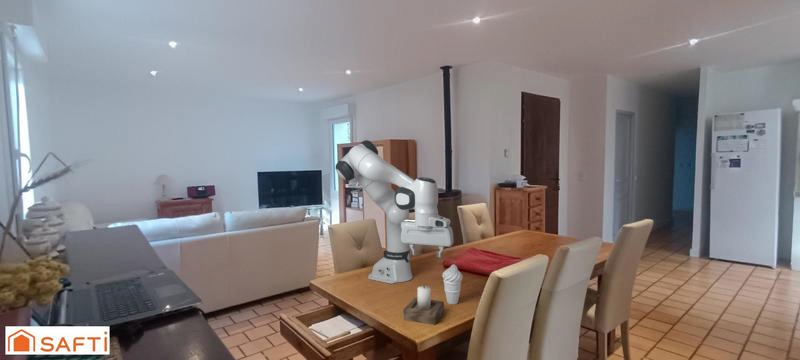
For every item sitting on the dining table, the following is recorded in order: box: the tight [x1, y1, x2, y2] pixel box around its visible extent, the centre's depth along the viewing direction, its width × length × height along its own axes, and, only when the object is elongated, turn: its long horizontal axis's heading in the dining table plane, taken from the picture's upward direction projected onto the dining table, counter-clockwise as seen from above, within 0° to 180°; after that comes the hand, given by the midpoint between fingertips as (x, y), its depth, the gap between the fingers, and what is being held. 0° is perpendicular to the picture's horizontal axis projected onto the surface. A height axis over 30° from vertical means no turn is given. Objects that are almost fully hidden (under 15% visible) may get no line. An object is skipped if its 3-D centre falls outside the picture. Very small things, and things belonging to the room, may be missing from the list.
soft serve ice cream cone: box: [441, 263, 464, 305], centre depth 151 cm, size 8×8×16 cm
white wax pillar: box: [416, 285, 432, 310], centre depth 139 cm, size 5×5×8 cm
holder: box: [403, 297, 445, 325], centre depth 139 cm, size 12×12×4 cm
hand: (426, 256), depth 140 cm, fingers open, 8 cm apart
